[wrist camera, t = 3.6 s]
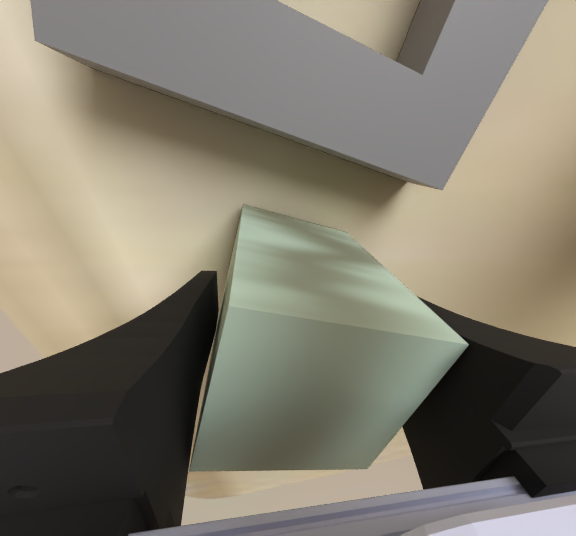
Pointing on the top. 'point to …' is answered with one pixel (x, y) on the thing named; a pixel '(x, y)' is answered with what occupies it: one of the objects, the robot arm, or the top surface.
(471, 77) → the well block
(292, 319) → the sage green block
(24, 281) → the top surface
